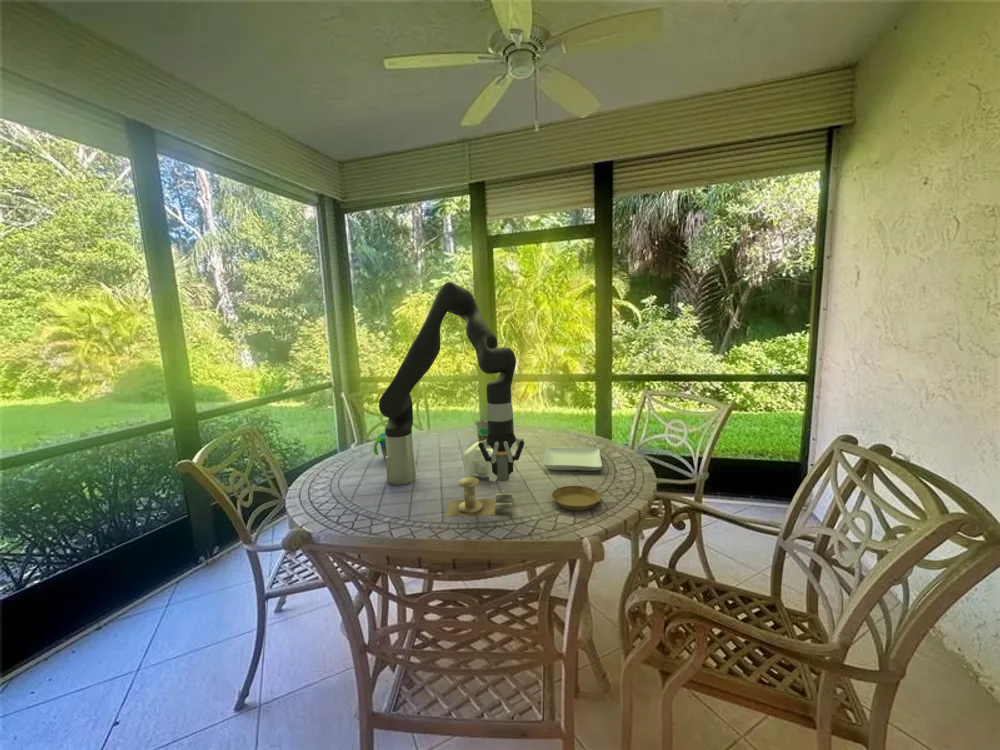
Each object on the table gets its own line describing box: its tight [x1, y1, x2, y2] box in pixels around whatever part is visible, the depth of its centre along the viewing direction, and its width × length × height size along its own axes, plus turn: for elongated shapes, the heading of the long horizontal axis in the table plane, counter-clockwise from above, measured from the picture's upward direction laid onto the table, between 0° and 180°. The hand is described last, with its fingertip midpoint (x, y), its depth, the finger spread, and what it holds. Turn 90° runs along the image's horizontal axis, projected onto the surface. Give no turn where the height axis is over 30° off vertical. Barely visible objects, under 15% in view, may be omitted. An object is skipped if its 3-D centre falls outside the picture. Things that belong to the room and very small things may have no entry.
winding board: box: [444, 492, 515, 518], centre depth 130 cm, size 20×11×4 cm, turn 89°
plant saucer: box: [551, 485, 601, 512], centre depth 133 cm, size 15×15×3 cm
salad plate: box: [542, 446, 603, 472], centre depth 166 cm, size 21×21×3 cm
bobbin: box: [458, 477, 482, 513], centre depth 129 cm, size 7×7×8 cm
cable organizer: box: [462, 441, 498, 482], centre depth 156 cm, size 15×11×12 cm
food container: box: [474, 419, 488, 442], centre depth 197 cm, size 12×6×10 cm, turn 81°
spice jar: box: [496, 451, 510, 482], centre depth 128 cm, size 4×4×9 cm
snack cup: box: [373, 432, 387, 460], centre depth 181 cm, size 16×10×10 cm
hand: (502, 473), depth 128 cm, fingers closed on spice jar, 3 cm apart
